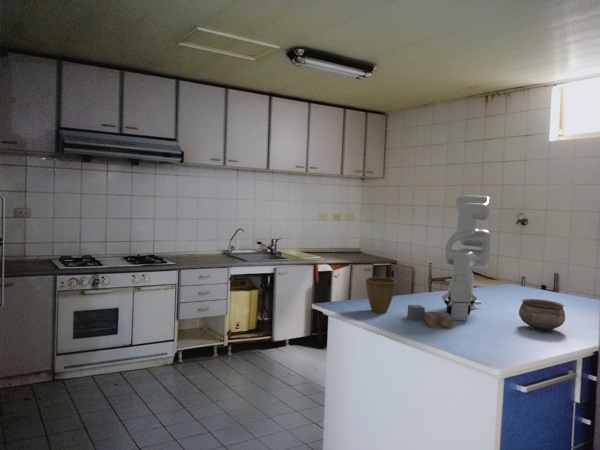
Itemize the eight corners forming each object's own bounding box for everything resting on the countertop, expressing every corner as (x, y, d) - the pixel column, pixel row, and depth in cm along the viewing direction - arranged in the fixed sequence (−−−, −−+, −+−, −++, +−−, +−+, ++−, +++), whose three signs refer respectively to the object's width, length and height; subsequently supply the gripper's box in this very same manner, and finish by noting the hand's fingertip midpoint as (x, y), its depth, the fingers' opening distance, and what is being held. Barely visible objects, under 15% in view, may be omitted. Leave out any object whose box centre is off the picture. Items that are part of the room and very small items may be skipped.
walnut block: (444, 323, 222) (445, 312, 222) (451, 329, 212) (452, 318, 212) (422, 322, 222) (423, 311, 222) (428, 328, 212) (429, 317, 212)
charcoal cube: (419, 317, 231) (420, 305, 230) (423, 320, 225) (424, 308, 225) (407, 317, 230) (408, 304, 230) (411, 320, 224) (412, 307, 224)
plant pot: (358, 308, 243) (360, 277, 242) (384, 307, 248) (386, 276, 247) (373, 315, 229) (375, 282, 228) (400, 314, 234) (402, 282, 234)
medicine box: (465, 319, 232) (466, 301, 231) (467, 321, 227) (468, 303, 227) (448, 317, 232) (449, 300, 232) (450, 320, 228) (451, 302, 228)
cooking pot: (528, 320, 234) (530, 296, 234) (571, 329, 221) (573, 303, 220) (508, 329, 216) (510, 302, 216) (554, 339, 203) (556, 310, 203)
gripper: (474, 277, 233) (471, 312, 234) (440, 276, 231) (437, 311, 232) (481, 280, 226) (479, 316, 227) (446, 278, 224) (444, 315, 225)
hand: (458, 313), depth 230 cm, fingers closed on medicine box, 8 cm apart
